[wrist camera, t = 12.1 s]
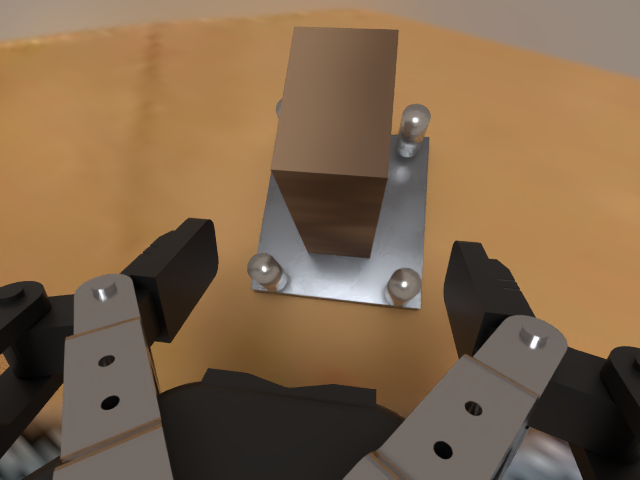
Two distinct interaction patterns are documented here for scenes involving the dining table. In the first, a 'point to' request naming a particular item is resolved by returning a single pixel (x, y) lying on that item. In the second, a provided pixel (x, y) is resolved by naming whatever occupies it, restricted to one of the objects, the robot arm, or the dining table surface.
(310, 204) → the brown wooden block
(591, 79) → the dining table surface
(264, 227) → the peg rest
